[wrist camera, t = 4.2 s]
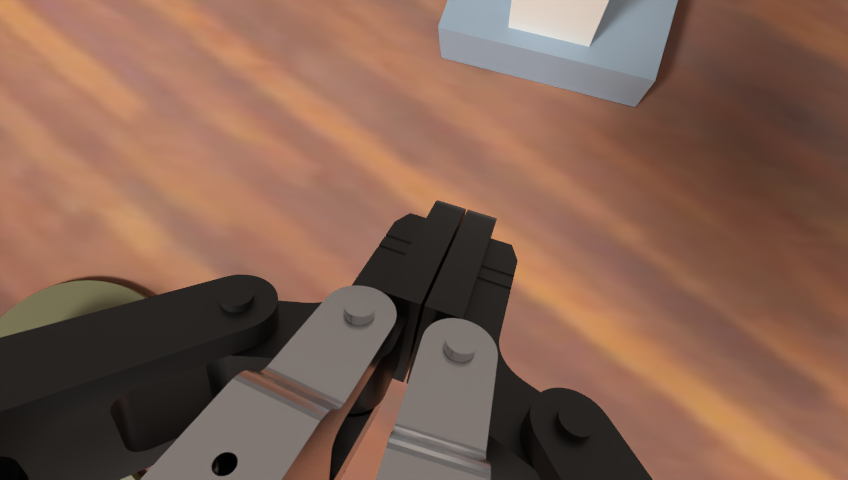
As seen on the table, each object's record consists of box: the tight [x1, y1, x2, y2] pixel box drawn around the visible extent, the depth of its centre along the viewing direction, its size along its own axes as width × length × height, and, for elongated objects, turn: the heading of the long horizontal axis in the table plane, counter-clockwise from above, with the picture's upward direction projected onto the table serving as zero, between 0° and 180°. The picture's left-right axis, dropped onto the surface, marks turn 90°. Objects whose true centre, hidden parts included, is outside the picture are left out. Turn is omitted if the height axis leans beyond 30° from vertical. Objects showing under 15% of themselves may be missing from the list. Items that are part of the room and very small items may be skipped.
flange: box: [0, 280, 194, 480], centre depth 25 cm, size 5×15×15 cm
